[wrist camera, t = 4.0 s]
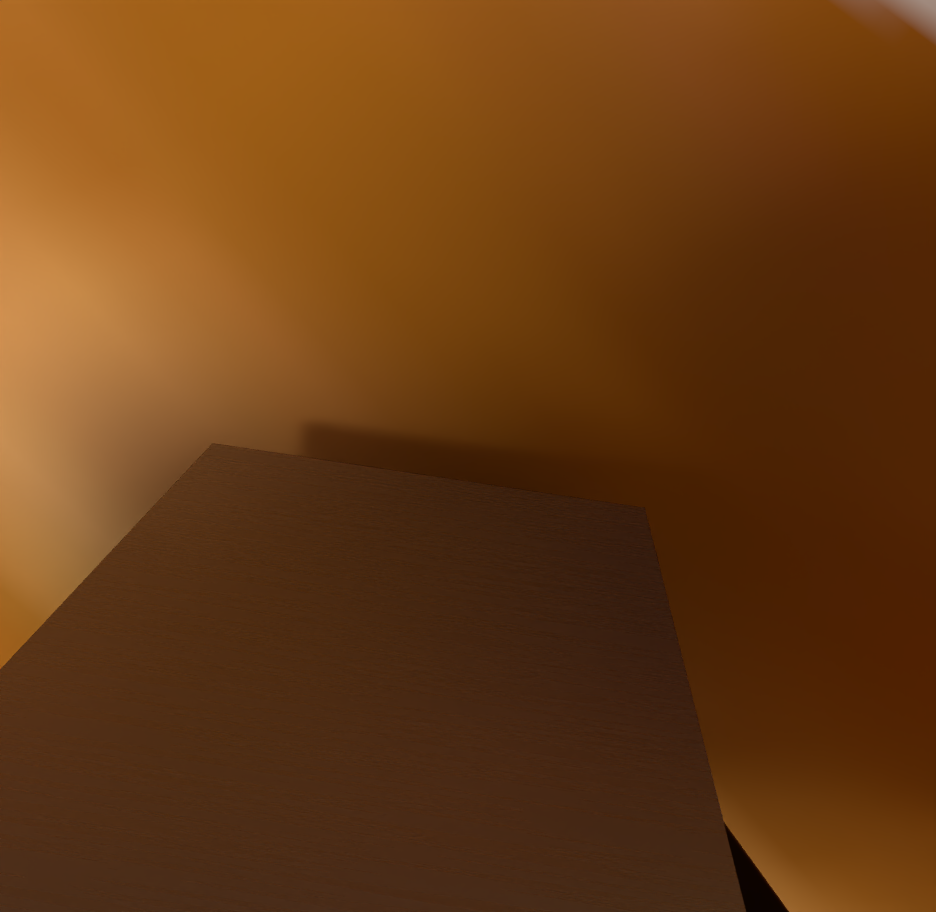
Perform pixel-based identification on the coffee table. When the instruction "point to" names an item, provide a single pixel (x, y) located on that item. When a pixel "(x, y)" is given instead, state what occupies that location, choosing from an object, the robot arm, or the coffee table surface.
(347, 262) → the coffee table surface
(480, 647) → the block
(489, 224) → the coffee table surface
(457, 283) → the coffee table surface
